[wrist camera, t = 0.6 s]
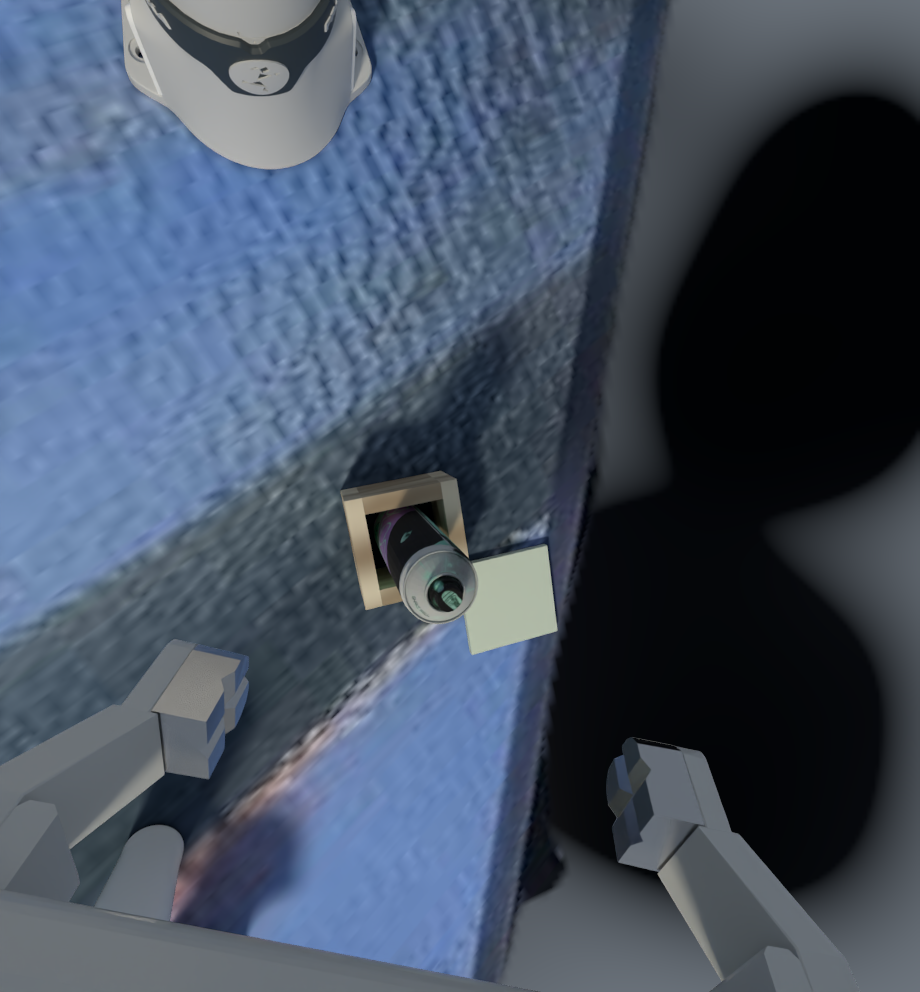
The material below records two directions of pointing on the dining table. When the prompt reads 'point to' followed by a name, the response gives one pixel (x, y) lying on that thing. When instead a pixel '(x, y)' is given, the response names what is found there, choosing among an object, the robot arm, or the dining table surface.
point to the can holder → (394, 495)
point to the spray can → (425, 565)
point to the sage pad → (511, 599)
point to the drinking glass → (145, 874)
